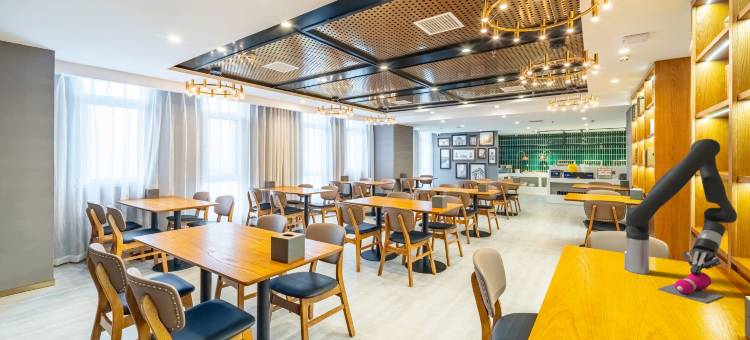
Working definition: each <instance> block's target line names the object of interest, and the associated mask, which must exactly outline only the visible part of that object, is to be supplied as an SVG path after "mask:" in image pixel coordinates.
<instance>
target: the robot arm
mask: <svg viewBox="0 0 750 340" xmlns="http://www.w3.org/2000/svg"><path fill="white" fill-rule="evenodd" d="M720 151H721V145H720V143H719V142H718V141H717V140H715V139H712V138H702V139H699V140H696V141H695V142H693V143H692V144H691V146H690V150H689V152H688V153H687V154H686V156H685V157H684V158H682V160H681V161H680V162H678V163H677V164H676V165H674V166H673V167H672V168H670V169H669V170H667V171H666V172H665V173H664V174H663V175H662V176H661V177H660V178H659V179H658V180H657V181H656V182H655V183H654V184H653V186H652V188H651V189H650V190H649V192H648V193H647V195H646V196H645V197H644V199H643V200H642V201H641V202H639V203H638V204H637V205H636V206H634V207H630V208H629V209H628V210H627V211H626V214H625V233H626V238H625V239H626V241H625V242H626V247H625V248H626V250H625V251H624V254H623V255H624V259H623V261H624V262H623V263H624V264H623V265H624V266H623V267H624V270H626V271H627V272H630V273H634V274H638V275H647V274H650V230H649V224H650V223H649V222H650V221H651V219H652V218H653V217H654V216H655V214H656V213H657V211H659V210H660V208H661V207H663V206H664V205H665V204H667V203H668V202H669V201H670V200H671V199H672V198H674V196H676V195H677V194H678V193H679V192H680V191H681V190H682V189H683V188H684V187H685V186H686V185H687V184H688V183H689V182H690V180H692V178H693V177H694V176H695V175H696V174H697V172H698V171H699V174H700V178H701V184H702V188H703V192H704V197H705V201H706V202H707V203H710V204H716V205H718V206H719V207H709V208H706V209H705V210H704V212H703V227H702V229H701V230H700V232H699V234H698V235H697V237H696V240H695V242H694V244H693V247H692V249H690V250H689V251H688V252H685V251H683V252H682V255H683V257H684V258H685V260H686V262H687V263H688V266H691V267H690V269H689V271H690V272H691V273H692V274H693V275H698V274H700V272H702V270H703V269H705V270H709V269H711V268H714V267H717V266H719V265H721V264H722V261H721V260H720V258H717V253H718V252H719V248H720V247H721V244H722V241H723V237H724V235H725V233H726V227H725V225H723V224H732V223H735V222H736V221H737V219H738V213H737V211H736V210H735V208H734V207H733V205H732V204H731V201H730V200H729V198H728V195H727V191H726V186H725V184H724V181H723V179H722V177H721V174H720V172H719V170H718V166H717V162H716V157H717V155H718V154H719V153H720ZM691 257H692V258H693V260H691V259H690V258H691Z"/></svg>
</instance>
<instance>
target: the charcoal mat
mask: <svg viewBox="0 0 750 340" xmlns="http://www.w3.org/2000/svg"><path fill="white" fill-rule="evenodd" d="M658 291H661V292H665V293H668V294H671V295H675V296H679V297H682V298H685V299H689V300H693V301H696V302H700V303H703V304H709V303H711V302H714V301H717V300H719V299H723V298H724V295H721V294H717V293H714V292H710V291H707V290H704V289H703V290H696V289H695V290H694V291H693V292H692V293H691V294H682V293H680V292H678V291H677V290H676V288H675V283H672V284H668V285H665V286H662V287H659V288H658Z"/></svg>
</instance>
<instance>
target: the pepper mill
mask: <svg viewBox="0 0 750 340" xmlns="http://www.w3.org/2000/svg"><path fill="white" fill-rule="evenodd" d="M712 283H713V281H712V279H711V277H710V276H709V274H707V273H705V272H703V271H701V272H700V274H698V275H693V274H692V273H689V274H687V276H686V277H685V278H683V279H680V278H679V279H678V280H676V281H675V282H674V284H675V288H676V290H677V291H678V292H680V293H682V294H691V293H692V292H693V291H694V290H695V289H696V290H703V291H704V290H706V289H707V288H708V287H709V286H711V284H712Z"/></svg>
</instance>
